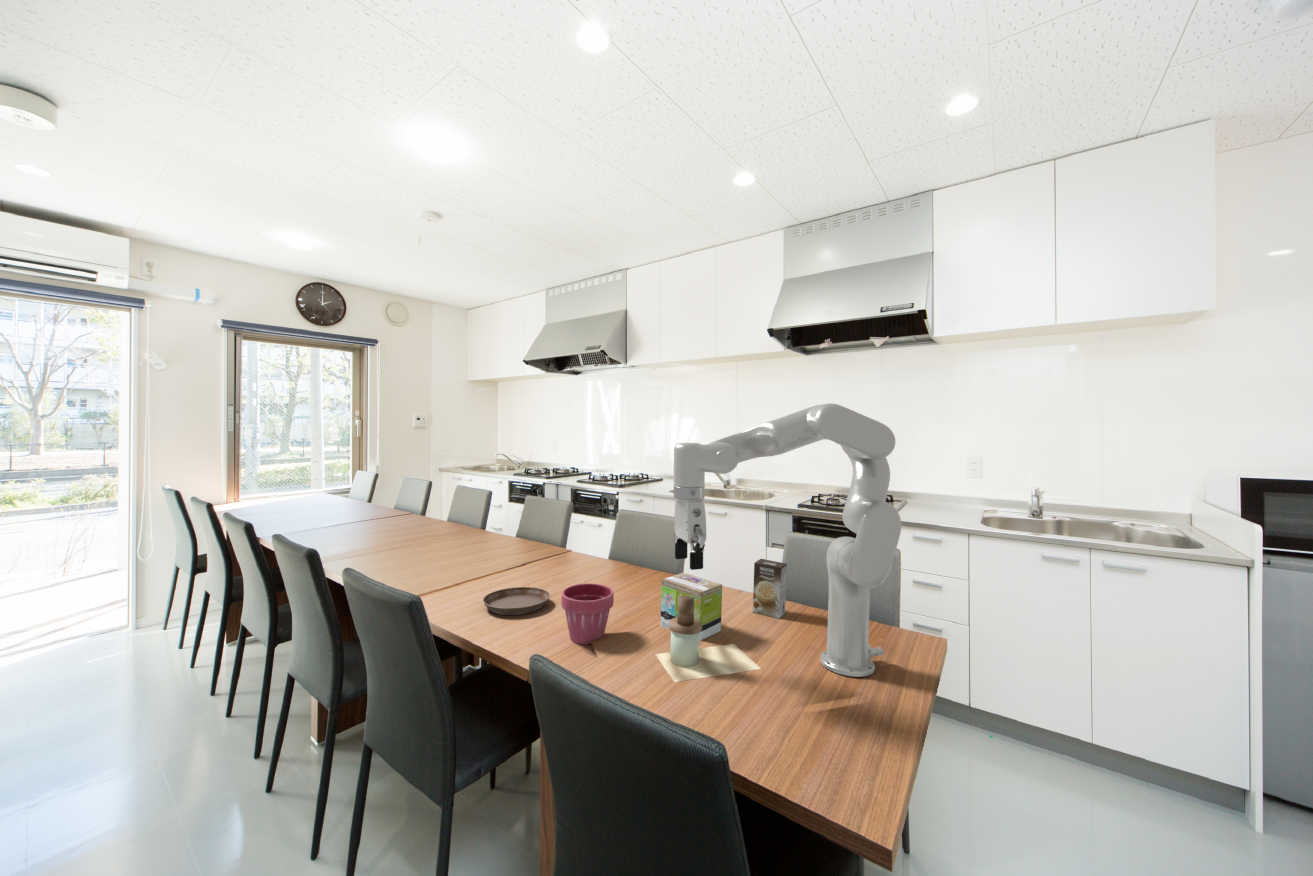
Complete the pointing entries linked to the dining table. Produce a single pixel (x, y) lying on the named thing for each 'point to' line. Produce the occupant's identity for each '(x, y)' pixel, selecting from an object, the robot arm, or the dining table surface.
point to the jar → (684, 649)
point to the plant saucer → (516, 600)
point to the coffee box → (769, 588)
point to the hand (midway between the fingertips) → (688, 563)
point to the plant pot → (587, 610)
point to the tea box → (704, 601)
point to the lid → (685, 618)
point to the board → (710, 663)
